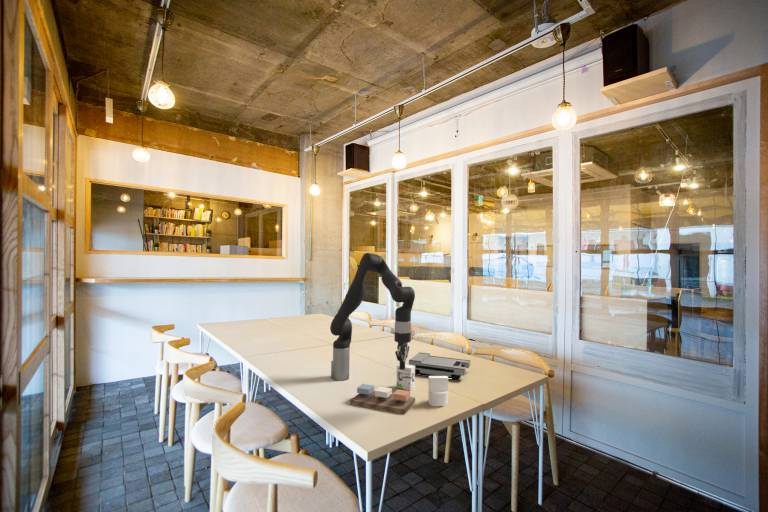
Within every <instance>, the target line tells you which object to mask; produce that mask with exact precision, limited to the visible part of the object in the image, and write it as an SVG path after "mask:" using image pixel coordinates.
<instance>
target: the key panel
mask: <svg viewBox="0 0 768 512" xmlns="http://www.w3.org/2000/svg"><path fill="white" fill-rule="evenodd" d="M393 394H394V393H392V394H391V395H390V396H389V397H388V398H384V397H378V396H375V390H374V391H373V392H372V393H371V394H369V395H366V394H360V393H357V394H356V395H354V397H352V398H351V399H350V405H352V406H358V407H363V408H369V409H374V410H379V411H385V412H389V413H390V412H391V413H396V414H400V415H401V414H402V415H405V414H406V413H407V412H408V411H409V410H410V409H411V407H412V406H413V405H414V404H415V403H416V397H412V396H410V397H409V399H408V400H407V401H401V400H395V399H393Z"/></svg>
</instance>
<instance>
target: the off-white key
mask: <svg viewBox="0 0 768 512" xmlns="http://www.w3.org/2000/svg"><path fill="white" fill-rule="evenodd" d="M374 391H375V396H378V397H384V398H388V397H389V396H390V395H391V394H393V388H392V387H391V388H390V387H384V386H379V387H377V388H376V389H374Z"/></svg>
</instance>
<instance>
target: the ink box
mask: <svg viewBox="0 0 768 512" xmlns="http://www.w3.org/2000/svg"><path fill="white" fill-rule="evenodd" d="M415 386H416V375H415V366H413V365H409V363H408V364H407V363H405V369H404V370H400V363H399V364H398V365H397V364H396V389H399V388H400V389H399V390H403V389H405V391H408V390H409V391H410V392H412V391H413V390H415V389H414V388H415ZM411 390H412V391H411Z"/></svg>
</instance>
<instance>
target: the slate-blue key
mask: <svg viewBox="0 0 768 512" xmlns="http://www.w3.org/2000/svg"><path fill="white" fill-rule="evenodd" d="M373 391H375V385H373V384H366V383H362V384H360V385H359V386H358V387H357V388H356V393H357V394H359V393H360V394H366V395H369V394H371V393H372V392H373Z"/></svg>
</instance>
